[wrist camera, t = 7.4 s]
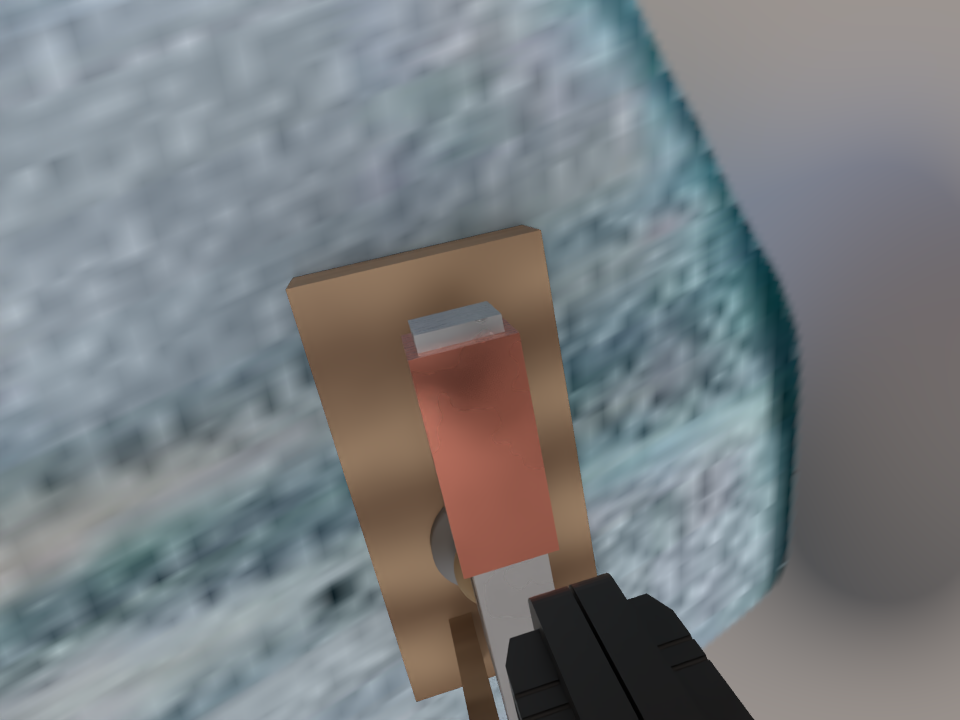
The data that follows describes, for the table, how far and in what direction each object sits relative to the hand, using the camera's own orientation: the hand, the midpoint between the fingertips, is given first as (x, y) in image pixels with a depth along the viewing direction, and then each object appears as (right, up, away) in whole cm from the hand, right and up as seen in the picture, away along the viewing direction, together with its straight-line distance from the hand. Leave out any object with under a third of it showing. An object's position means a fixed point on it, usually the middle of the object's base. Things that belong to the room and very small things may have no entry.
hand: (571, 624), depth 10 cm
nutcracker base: (-3, -1, +21) cm, 21 cm away
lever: (-1, -3, +13) cm, 14 cm away
